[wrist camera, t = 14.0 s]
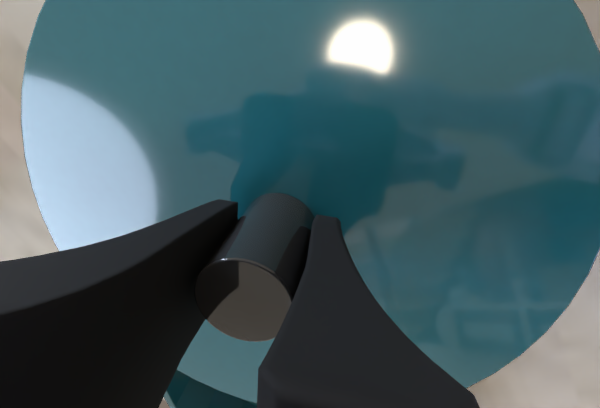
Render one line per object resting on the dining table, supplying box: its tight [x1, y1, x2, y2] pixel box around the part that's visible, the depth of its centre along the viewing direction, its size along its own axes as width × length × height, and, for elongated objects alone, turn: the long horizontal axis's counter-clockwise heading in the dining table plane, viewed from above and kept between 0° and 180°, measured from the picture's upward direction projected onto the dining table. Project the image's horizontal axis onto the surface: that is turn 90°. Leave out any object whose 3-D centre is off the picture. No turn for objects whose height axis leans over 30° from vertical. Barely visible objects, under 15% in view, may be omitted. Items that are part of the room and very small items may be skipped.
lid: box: [21, 0, 600, 403], centre depth 10 cm, size 18×18×5 cm
